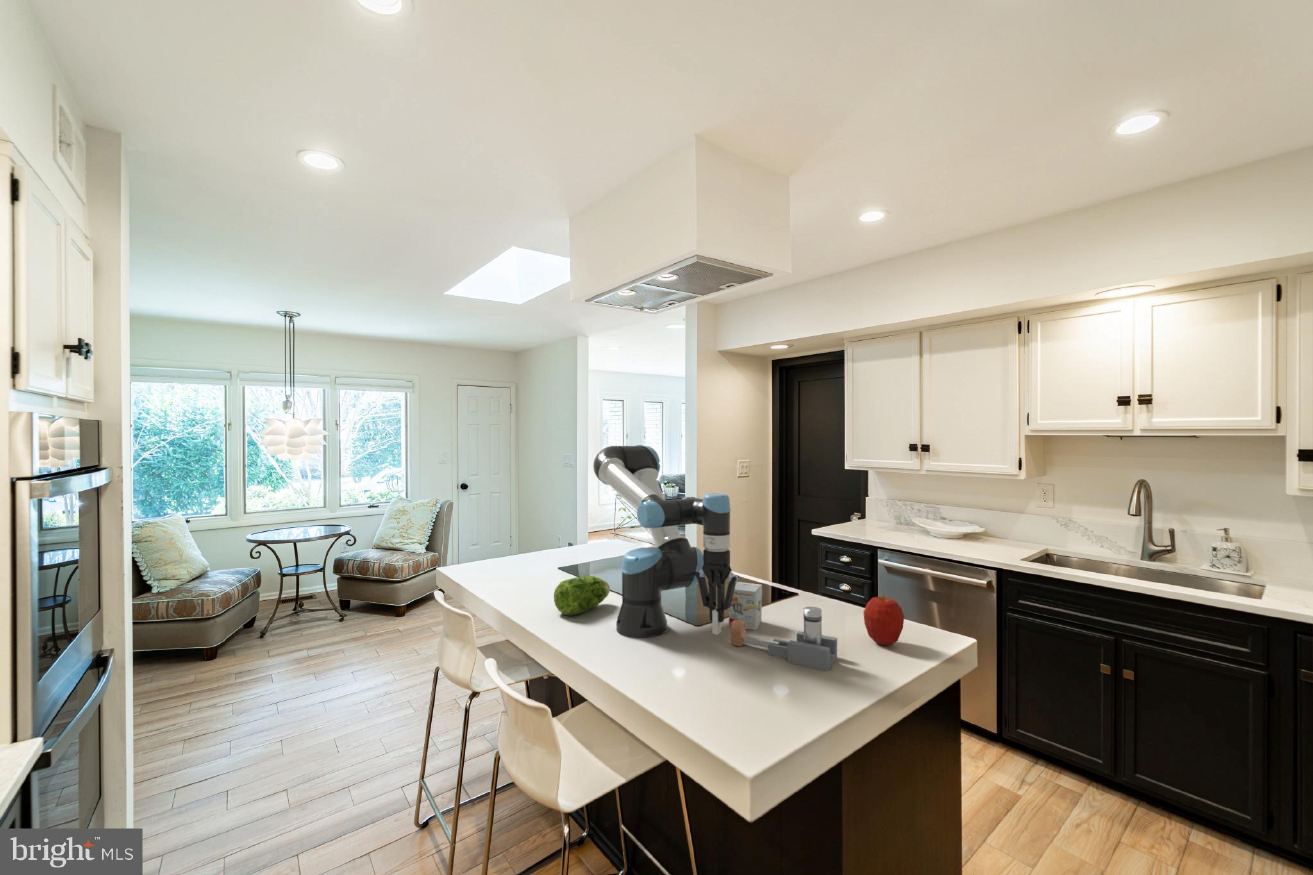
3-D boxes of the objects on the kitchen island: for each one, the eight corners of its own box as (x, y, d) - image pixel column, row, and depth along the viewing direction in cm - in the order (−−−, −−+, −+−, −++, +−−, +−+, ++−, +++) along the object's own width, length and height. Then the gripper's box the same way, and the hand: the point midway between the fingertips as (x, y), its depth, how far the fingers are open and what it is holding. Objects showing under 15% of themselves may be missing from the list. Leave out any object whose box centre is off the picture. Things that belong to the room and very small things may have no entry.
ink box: (728, 626, 168) (728, 587, 168) (735, 618, 176) (735, 580, 176) (756, 630, 164) (756, 590, 164) (762, 621, 172) (762, 583, 172)
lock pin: (730, 644, 152) (730, 622, 152) (735, 641, 155) (735, 619, 155) (776, 653, 146) (776, 631, 146) (780, 650, 148) (780, 627, 148)
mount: (765, 657, 144) (765, 638, 144) (777, 645, 152) (777, 627, 152) (827, 670, 136) (827, 650, 136) (837, 657, 144) (837, 637, 144)
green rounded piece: (618, 605, 188) (618, 572, 188) (573, 621, 172) (573, 585, 172) (594, 599, 195) (594, 567, 195) (549, 614, 179) (549, 579, 179)
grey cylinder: (801, 660, 142) (801, 610, 142) (806, 655, 146) (806, 605, 146) (819, 664, 140) (819, 612, 140) (823, 658, 143) (823, 608, 143)
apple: (860, 646, 152) (860, 595, 152) (867, 634, 161) (867, 586, 161) (901, 653, 147) (901, 601, 147) (906, 641, 155) (906, 592, 155)
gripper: (689, 548, 156) (690, 632, 156) (733, 553, 150) (733, 641, 150) (701, 544, 163) (701, 625, 163) (743, 548, 156) (743, 632, 156)
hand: (716, 632), depth 156 cm, fingers closed
